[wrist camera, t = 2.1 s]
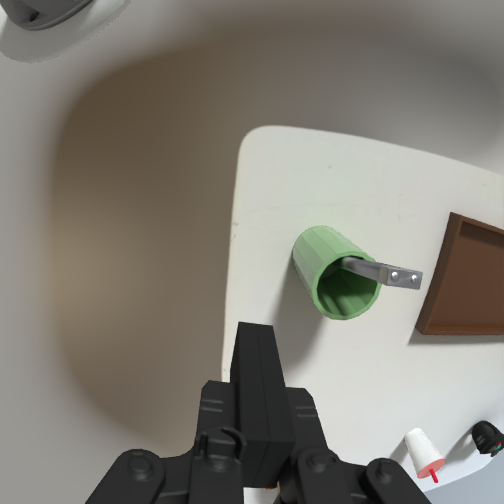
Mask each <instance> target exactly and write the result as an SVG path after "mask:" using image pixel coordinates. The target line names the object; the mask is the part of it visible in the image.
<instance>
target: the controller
mask: <svg viewBox="0 0 504 504" xmlns="http://www.w3.org/2000/svg"><path fill="white" fill-rule="evenodd" d="M472 438H473V440H474V442H475V444H476V447H477V449H478V450H479V451H480V454H489V453H492V454H491V457H493V456H495V455H496V454H497V453H498V452H499V451H500V450H502V449H503V448H504V434H502V433H501V432H500V431H499V430H498V429H497V428H496V427H495V426H494V425H492V424H491V423H489V422H487V421H481V422H479V423H478V424H477V425H476V426H475V427H474V429H473V430H472Z"/></svg>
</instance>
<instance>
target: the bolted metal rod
mask: <svg viewBox="0 0 504 504" xmlns="http://www.w3.org/2000/svg"><path fill="white" fill-rule="evenodd" d="M330 265H333V266H336V267H338V268H341V269H344V270H347V271H350V272H353V273H356V274H359V275H361V276H364V277H367V278H370V279H373V280H376V281H378V282H379V283H381V284H383V285H386V286H394V287H402V288H409V289H417V290H419V289H420V285H421V280H422V274H423V273H422V272H419V271H415V270H409V269H404V268H400V267H396V266H391V265H387V264H383V263H378V262H374V261H370V260H365V259H361V258H356V257H352V256H345V257H341V258H338V259H336V260H335V261H334V262H332V263H331V264H330Z"/></svg>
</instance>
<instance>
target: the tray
mask: <svg viewBox="0 0 504 504" xmlns="http://www.w3.org/2000/svg"><path fill="white" fill-rule="evenodd" d="M415 327H416V328H417V329H418V331H419V332H420V333H421V334H424V335H425V334H426V335H504V230H502V229H499V228H497V227H494V226H491V225H488V224H486V223H483V222H480V221H477V220H474V219H471V218H468V217H465V216H462V215H459V214H456V213H453V212H451V213H450V217H449V222H448V226H447V230H446V234H445V238H444V241H443V245H442V249H441V252H440V256H439V259H438V263H437V266H436V269H435V272H434V276H433V279H432V282H431V285H430V288H429V291H428V294H427V297H426V299H425V302H424V305H423V308H422V310H421V313H420V316H419V318H418V321H417V324H416V326H415Z"/></svg>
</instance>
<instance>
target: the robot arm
mask: <svg viewBox="0 0 504 504" xmlns="http://www.w3.org/2000/svg"><path fill="white" fill-rule="evenodd" d="M92 1H93V0H0V4H1V6H2V8H3V9H4V11H5V12H6V14H7V16H8V17H9V19H10V20H11V21H12V22H13V23H14V24H16V25H17V26H19V27H21V28H23V29H25V30H29V31H40V30H44V29H48V28H51V27H54V26H56V25H58V24H60V23H62V22H64V21H66V20H67V19H69V18H71V17H72V16H74V15H75V14H77V13H78V12H80V11H81V10H82V9H83V8H85V7H86V6H87V5H88V4H89V3H91V2H92ZM315 408H316V407H315V404H314V400H313V397H312V396H311V395H310V394H309V393H308V391H307V390H306V389H305V388H292V387H285V382H284V377H283V372H282V368H281V363H280V358H279V353H278V349H277V344H276V339H275V334H274V330H273V326H271V325H262V324H254V323H246V322H239V323H238V328H237V334H236V340H235V345H234V351H233V357H232V362H231V368H230V383H227V382H219V381H212V380H209V381H208V382H207V383H206V384H205V385H204V387H203V388H202V392H201V400H200V407H199V415H198V424H197V432H196V437H195V441H194V446H193V447H192V448H191V450H189V451H188V452H187V453H185V454H183V455H181V456H176V457H168V458H159V456H158V455H156V454H154V453H152V452H151V451H147V450H143V449H131V450H129V451H126V452H123V453H122V454H121V455H120V456H119V457H118V458H117V459H116V461H115V462H114V463H113V465H112V466H111V468H110V469H109V470H108V472H107V473H106V475H105V476H104V477H103V479H102V480H101V482H100V483H99V484H98V486H97V487H96V489H95V490H94V491H93V493H92V494H91V496H90V497H89V498H88V500H87V501H86V503H85V504H244V491H243V487H248V488H275V487H276V485H277V483H278V482H279V489H280V492H279V494H278V496H277V498H276V500H275V501H274V503H273V504H431V503H430V501H429V500H428V499H427V498H426V496H425V495H424V494H423V492H422V491H421V490H420V489H419V488H418V486H417V485H416V484H415V483H414V481H413V480H412V479H411V478H410V476H409V475H408V474H407V473H406V471H405V470H404V469H403V468H402V466H401V465H399V464H398V463H397V462H396V461H394V460H391V459H388V458H378V459H374V460H373V461H371V462H370V463H369V464H368V465H367V466H363V465H357V464H351V463H347V462H343V461H341V460H340V459H339V457H338V456H337V454H335V453H334V452H333V451H332V450H330V449H328V446H327V443H326V440H325V437H324V433H323V430H322V427H321V423H320V420H319V417H318V413H317V410H316V409H315Z"/></svg>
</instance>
